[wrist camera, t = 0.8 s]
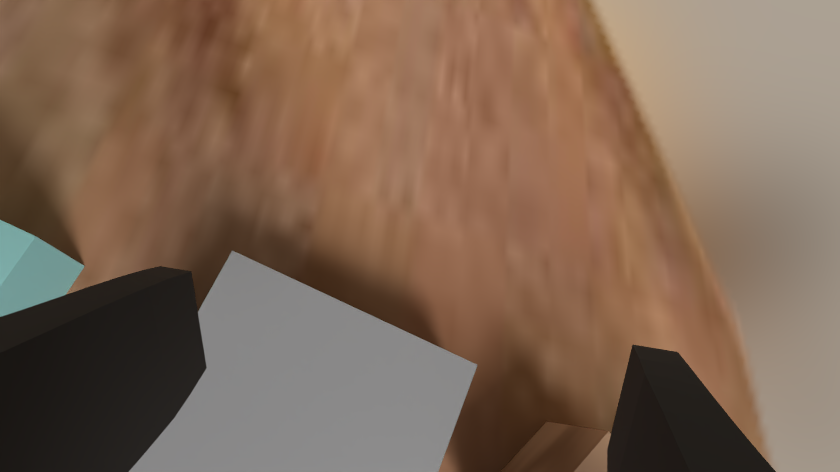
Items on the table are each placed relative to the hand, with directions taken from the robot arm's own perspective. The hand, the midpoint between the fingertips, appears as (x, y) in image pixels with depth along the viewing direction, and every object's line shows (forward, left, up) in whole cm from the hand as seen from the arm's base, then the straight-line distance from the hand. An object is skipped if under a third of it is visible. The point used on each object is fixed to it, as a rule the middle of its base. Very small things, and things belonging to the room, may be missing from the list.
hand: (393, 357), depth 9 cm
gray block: (-2, -2, -16) cm, 16 cm away
